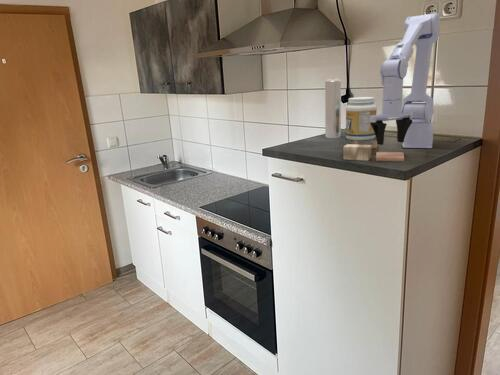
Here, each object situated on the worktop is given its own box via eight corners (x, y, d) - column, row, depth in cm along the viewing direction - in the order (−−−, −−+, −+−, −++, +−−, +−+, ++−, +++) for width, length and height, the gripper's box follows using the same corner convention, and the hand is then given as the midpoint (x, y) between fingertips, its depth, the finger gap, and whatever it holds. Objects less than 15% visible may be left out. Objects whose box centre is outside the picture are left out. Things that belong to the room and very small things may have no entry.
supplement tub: (341, 137, 168) (342, 98, 163) (368, 135, 169) (369, 96, 164) (351, 142, 156) (352, 99, 151) (380, 140, 157) (382, 97, 152)
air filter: (333, 139, 166) (333, 78, 159) (322, 137, 171) (322, 79, 164) (343, 136, 169) (344, 78, 162) (332, 135, 174) (332, 78, 167)
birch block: (371, 145, 125) (347, 144, 129) (368, 147, 122) (343, 146, 126) (371, 158, 127) (347, 157, 130) (368, 161, 123) (343, 160, 127)
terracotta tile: (403, 155, 127) (403, 152, 127) (404, 161, 119) (404, 158, 119) (376, 155, 130) (376, 152, 130) (375, 160, 122) (375, 157, 122)
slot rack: (377, 147, 143) (377, 140, 142) (376, 155, 130) (376, 147, 130) (353, 147, 146) (353, 140, 145) (350, 154, 133) (350, 147, 132)
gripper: (403, 97, 125) (401, 139, 129) (364, 101, 121) (363, 143, 125) (418, 98, 119) (415, 142, 123) (378, 102, 115) (376, 146, 119)
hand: (390, 143), depth 123 cm, fingers open, 7 cm apart
